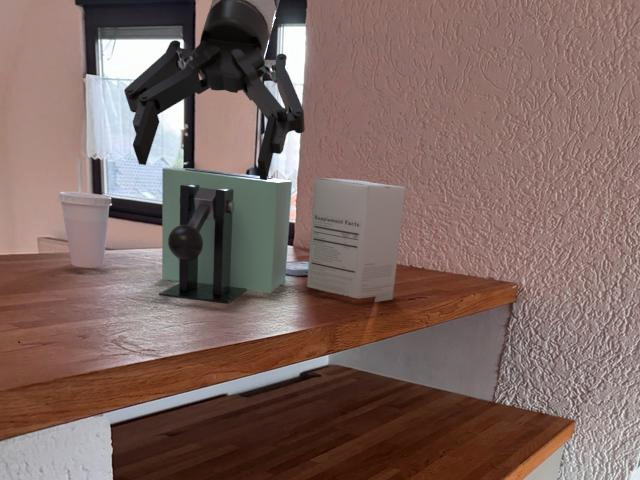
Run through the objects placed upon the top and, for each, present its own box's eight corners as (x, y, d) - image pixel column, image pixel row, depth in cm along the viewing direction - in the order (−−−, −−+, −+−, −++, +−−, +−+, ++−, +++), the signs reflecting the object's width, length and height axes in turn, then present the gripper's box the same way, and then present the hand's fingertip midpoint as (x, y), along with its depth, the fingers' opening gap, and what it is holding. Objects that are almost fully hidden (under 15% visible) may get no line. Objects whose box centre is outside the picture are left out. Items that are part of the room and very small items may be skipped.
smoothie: (68, 266, 99) (63, 154, 93) (117, 271, 100) (115, 160, 94) (56, 274, 93) (49, 154, 87) (108, 279, 94) (105, 161, 88)
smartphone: (348, 268, 123) (295, 270, 110) (347, 274, 123) (294, 278, 111) (312, 261, 126) (257, 262, 114) (311, 267, 126) (256, 269, 114)
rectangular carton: (342, 289, 107) (353, 179, 101) (394, 300, 102) (408, 186, 96) (303, 293, 100) (312, 175, 94) (356, 306, 95) (369, 183, 89)
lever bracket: (227, 312, 83) (232, 192, 78) (158, 303, 83) (158, 183, 78) (246, 298, 92) (251, 190, 87) (184, 290, 92) (185, 182, 87)
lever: (199, 268, 77) (196, 237, 75) (165, 264, 77) (161, 233, 75) (226, 215, 86) (224, 185, 83) (196, 211, 86) (193, 181, 83)
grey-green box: (271, 300, 93) (278, 181, 87) (160, 286, 93) (161, 166, 87) (285, 287, 103) (293, 179, 97) (186, 275, 103) (188, 166, 98)
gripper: (127, -16, 84) (76, 120, 76) (342, 10, 83) (312, 149, 76) (143, 44, 91) (98, 174, 83) (341, 68, 90) (314, 202, 83)
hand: (200, 163), depth 79 cm, fingers open, 13 cm apart
